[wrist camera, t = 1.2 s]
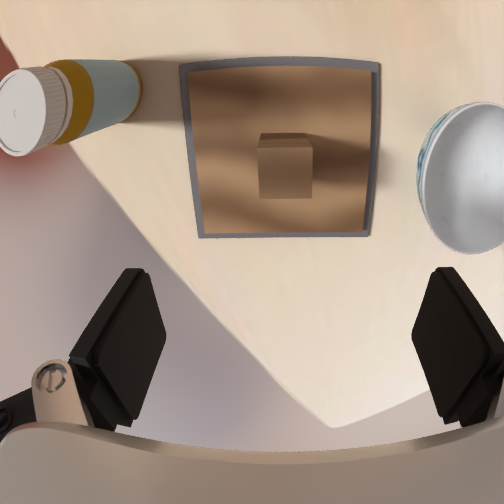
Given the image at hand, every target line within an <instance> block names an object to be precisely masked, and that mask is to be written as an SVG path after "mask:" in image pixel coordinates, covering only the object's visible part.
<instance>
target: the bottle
mask: <svg viewBox="0 0 504 504" xmlns="http://www.w3.org/2000/svg"><path fill="white" fill-rule="evenodd" d="M141 94H142V85H141V81H140V77H139V75H138V73H137V72H136V70H135V69H134V68H133V67H132V66H130V65H129V64H127V63H125V62H121V61H115V60H58V61H55V62H51V63H49V64H47V65H46V66H44V67H29V68H21V69H17V70H15V71H13V72H11V73H10V74H8V75H7V76H6V77H5V78H4V79H3V80H2V81H1V83H0V147H1V148H2V149H3V150H4V151H5V152H6V153H8V154H10V155H13V156H24V155H27V154H29V153H31V152H33V151H35V150H38V149H40V148H42V147H44V146H46V145H61V144H64V143H68V142H70V141H73V140H75V139H77V138H80V137H82V136H85V135H88V134H90V133H93V132H95V131H98V130H101V129H103V128H106V127H109V126H112V125H115V124H117V123H120V122H122V121H124V120H126V119H127V118H128V117H129V116H131V115H132V114H133V112H134V111H135V109H136V108H137V106H138V104H139V101H140V98H141Z"/></svg>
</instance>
